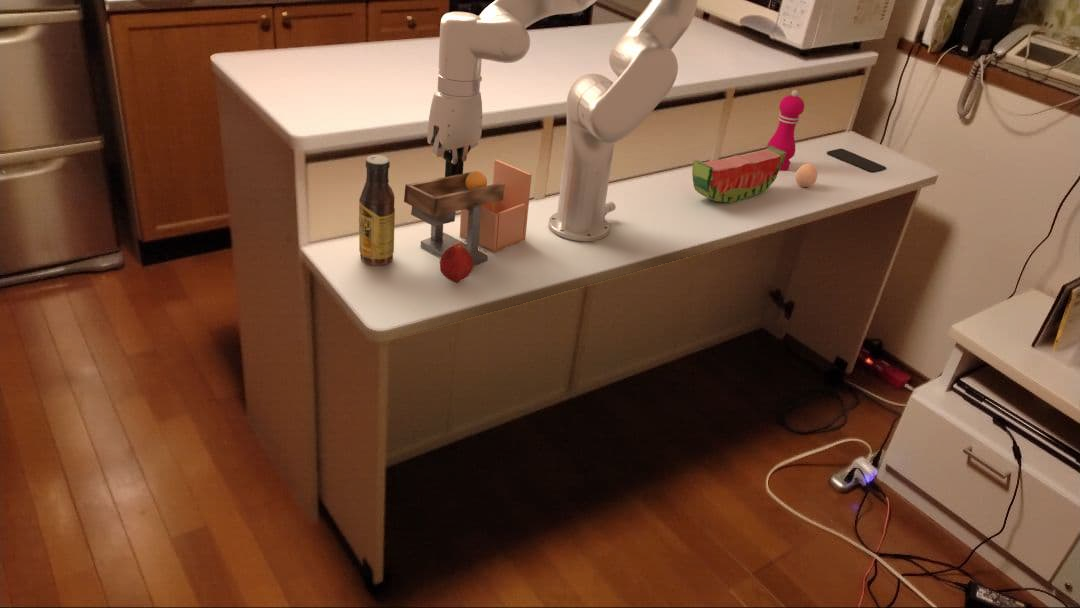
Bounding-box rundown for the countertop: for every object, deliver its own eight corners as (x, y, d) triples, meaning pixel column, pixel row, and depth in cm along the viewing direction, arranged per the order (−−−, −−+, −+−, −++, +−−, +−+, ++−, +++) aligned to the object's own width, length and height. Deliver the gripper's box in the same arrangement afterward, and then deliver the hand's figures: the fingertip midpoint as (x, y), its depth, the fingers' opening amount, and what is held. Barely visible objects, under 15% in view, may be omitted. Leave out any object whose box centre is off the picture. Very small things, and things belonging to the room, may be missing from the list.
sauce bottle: (355, 253, 155) (353, 152, 145) (389, 249, 157) (389, 149, 147) (364, 270, 150) (362, 166, 140) (398, 266, 152) (399, 163, 142)
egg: (809, 182, 208) (815, 160, 205) (817, 191, 204) (823, 168, 201) (789, 181, 208) (795, 159, 205) (797, 190, 203) (803, 167, 200)
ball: (478, 180, 158) (473, 164, 155) (493, 187, 156) (488, 171, 153) (464, 193, 157) (458, 177, 154) (479, 200, 154) (473, 184, 151)
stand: (443, 237, 163) (445, 182, 157) (487, 260, 157) (491, 203, 151) (420, 246, 159) (422, 189, 153) (464, 270, 153) (467, 212, 147)
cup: (492, 223, 171) (496, 159, 164) (525, 239, 166) (531, 174, 159) (459, 236, 165) (463, 169, 158) (493, 253, 160) (498, 185, 153)
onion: (449, 293, 146) (451, 252, 142) (433, 278, 149) (434, 238, 145) (477, 285, 149) (480, 246, 145) (461, 271, 153) (463, 232, 149)
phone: (872, 171, 218) (825, 151, 228) (871, 174, 219) (824, 154, 229) (888, 167, 222) (841, 147, 232) (887, 170, 223) (840, 150, 233)
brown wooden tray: (458, 191, 164) (461, 164, 161) (501, 212, 158) (505, 184, 155) (388, 206, 151) (390, 177, 149) (432, 229, 145) (435, 199, 142)
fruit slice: (759, 183, 205) (768, 144, 200) (778, 192, 201) (789, 153, 196) (683, 201, 191) (691, 159, 186) (702, 211, 187) (711, 170, 181)
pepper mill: (795, 171, 214) (816, 94, 204) (770, 171, 212) (790, 94, 202) (781, 160, 220) (801, 85, 210) (757, 160, 218) (775, 85, 208)
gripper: (473, 74, 157) (467, 165, 166) (413, 86, 147) (410, 182, 156) (502, 84, 153) (494, 178, 162) (442, 97, 143) (438, 196, 152)
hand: (453, 180), depth 159 cm, fingers closed
